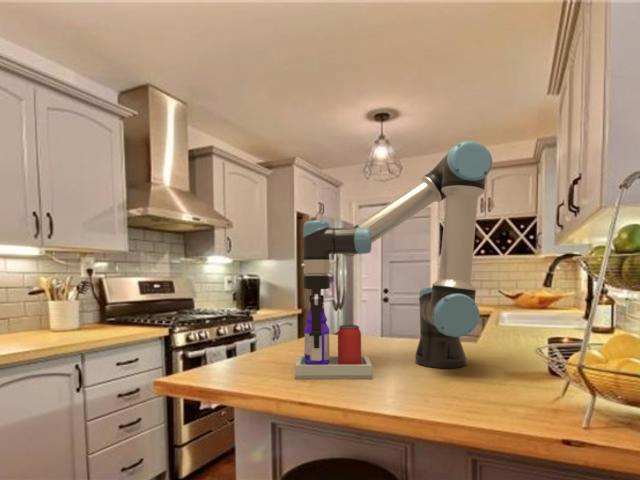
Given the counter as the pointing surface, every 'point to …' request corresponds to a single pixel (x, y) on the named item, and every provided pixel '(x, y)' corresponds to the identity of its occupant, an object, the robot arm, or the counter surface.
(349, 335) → the beer can
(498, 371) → the counter surface
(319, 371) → the tray
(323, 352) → the bottle
